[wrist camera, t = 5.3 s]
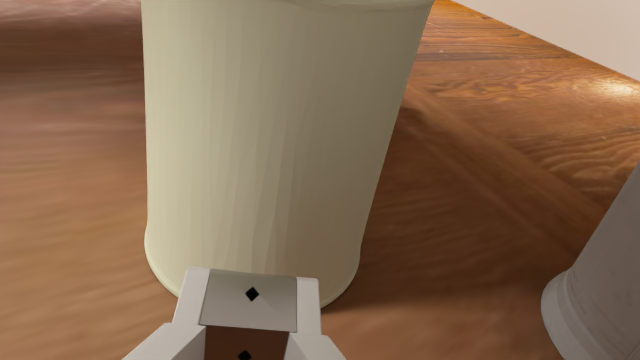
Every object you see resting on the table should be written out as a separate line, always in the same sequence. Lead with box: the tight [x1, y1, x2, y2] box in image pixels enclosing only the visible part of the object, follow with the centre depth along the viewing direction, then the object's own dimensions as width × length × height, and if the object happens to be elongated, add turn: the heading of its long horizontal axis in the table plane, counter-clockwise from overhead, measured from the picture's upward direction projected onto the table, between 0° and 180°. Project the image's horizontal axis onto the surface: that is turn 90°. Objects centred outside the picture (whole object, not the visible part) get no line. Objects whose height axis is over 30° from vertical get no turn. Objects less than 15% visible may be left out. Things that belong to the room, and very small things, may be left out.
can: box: [141, 0, 435, 309], centre depth 18 cm, size 9×9×12 cm
